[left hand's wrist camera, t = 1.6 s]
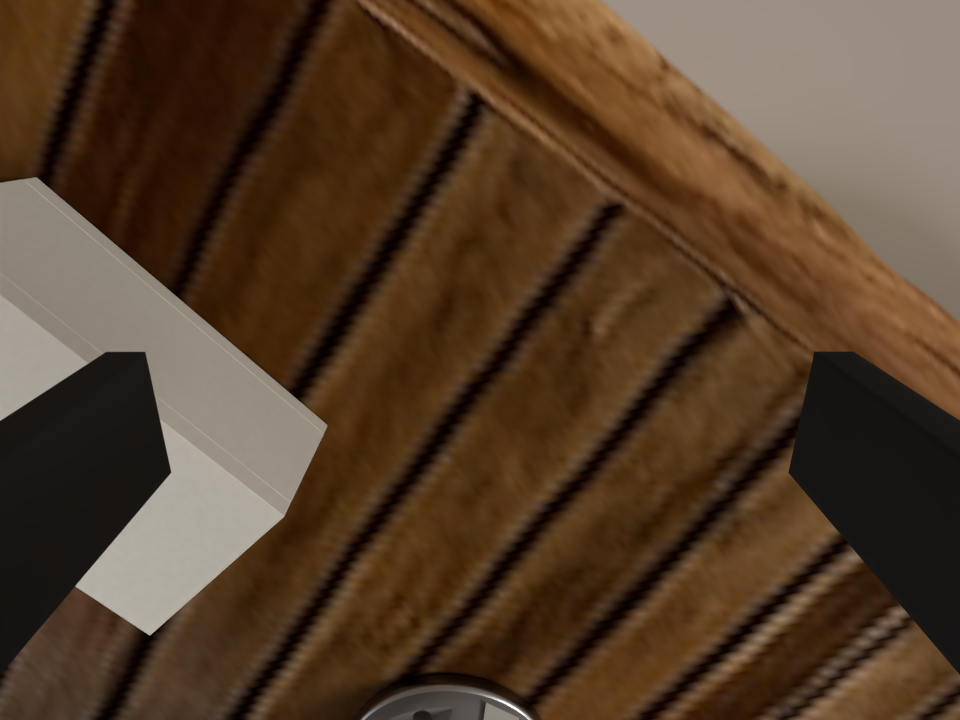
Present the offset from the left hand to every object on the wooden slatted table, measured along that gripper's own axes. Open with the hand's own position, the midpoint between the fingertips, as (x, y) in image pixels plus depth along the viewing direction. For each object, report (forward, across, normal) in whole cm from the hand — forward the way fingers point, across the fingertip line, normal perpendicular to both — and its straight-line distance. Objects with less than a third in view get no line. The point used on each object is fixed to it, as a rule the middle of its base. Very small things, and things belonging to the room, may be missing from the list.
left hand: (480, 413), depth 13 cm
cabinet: (+22, +20, +8) cm, 31 cm away
